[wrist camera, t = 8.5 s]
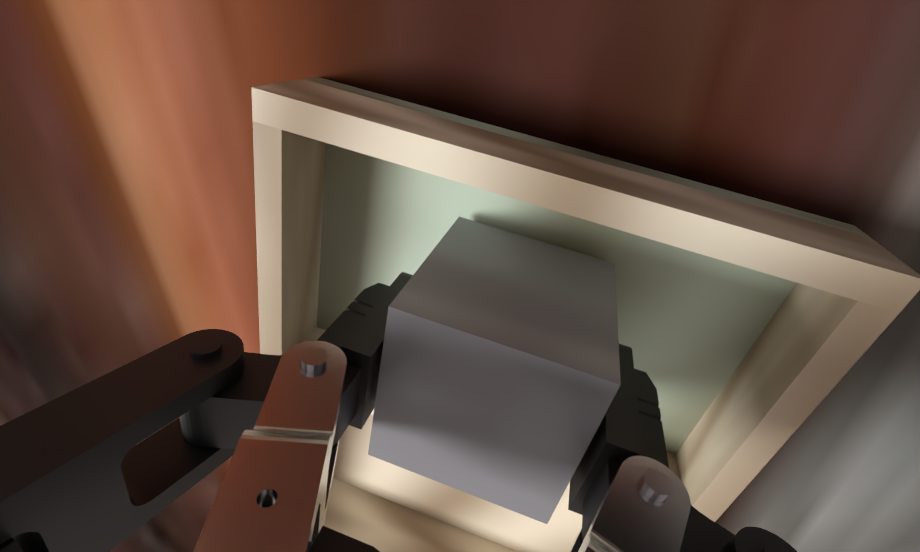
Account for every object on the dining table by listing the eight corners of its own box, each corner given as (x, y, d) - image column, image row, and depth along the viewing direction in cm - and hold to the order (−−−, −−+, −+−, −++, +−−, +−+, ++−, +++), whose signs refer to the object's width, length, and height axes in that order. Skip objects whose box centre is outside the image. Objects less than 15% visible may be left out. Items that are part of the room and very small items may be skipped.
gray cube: (433, 337, 15) (368, 454, 11) (459, 216, 13) (388, 306, 9) (563, 381, 15) (547, 524, 10) (614, 263, 12) (620, 384, 8)
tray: (303, 459, 23) (265, 513, 20) (318, 76, 13) (251, 87, 11) (598, 577, 21) (598, 654, 18) (855, 225, 11) (928, 281, 9)
